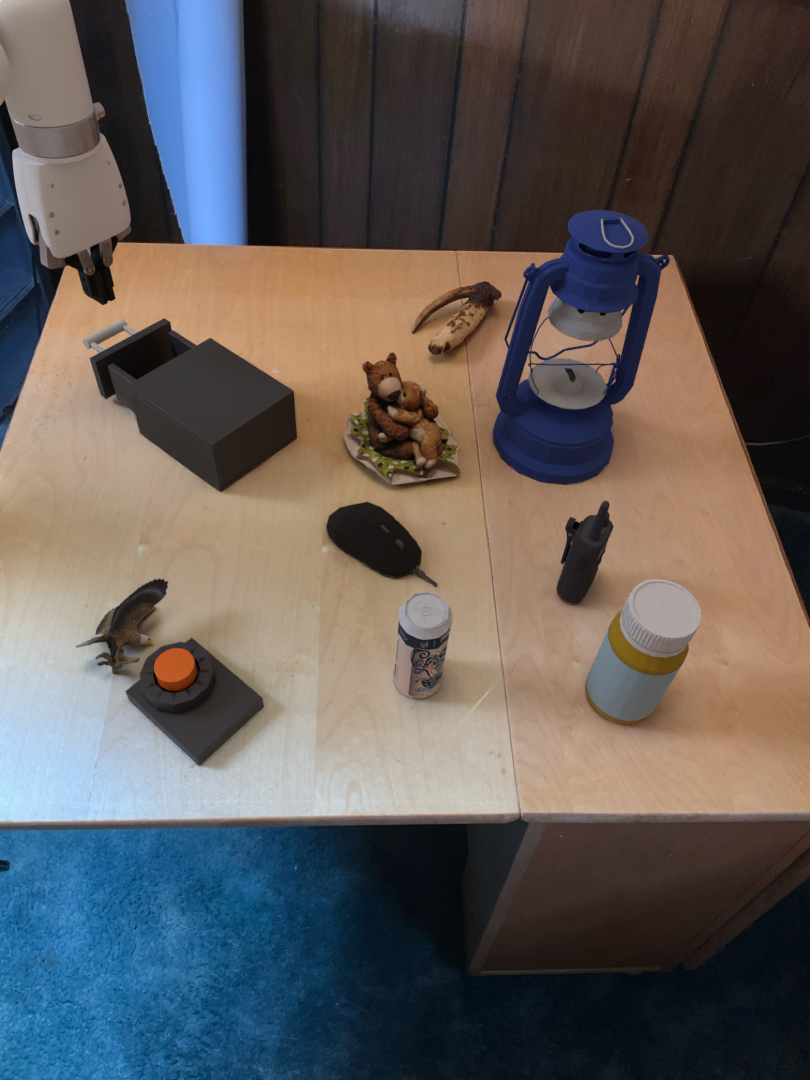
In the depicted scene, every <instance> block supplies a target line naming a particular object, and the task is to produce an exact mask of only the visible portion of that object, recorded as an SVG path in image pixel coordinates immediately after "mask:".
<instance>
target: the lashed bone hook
mask: <svg viewBox="0 0 810 1080" xmlns="http://www.w3.org/2000/svg"><path fill="white" fill-rule="evenodd" d="M501 298H502V291H501V290H500V289H498V288H496V287H495V285H493V284H491V283H490V282H489V281H485V280H483V281H480V282H476V283H474V284H471V285H465V286H460V287H456V288H453V289H451V290H448V291H445V292H444V293H442V294H440V295H439V296H438V297H436V298H434V299H433V300H432V301H430V302H429V303H428V304H427V305H426V306H425V307H424V308H423V309H422V310H421V311H420V313H419V314H418V316H417V317H416V319H415V320H414V323H413V326H412V329H411V333H412V334H414V333H416V332H417V331H418V330H419V329H420V327H421V326H422V325H423V324H424V323H425V322H426V321H427V320H428V318H430V316H432V315H433V314H434V313H436V312H437V311H439V310H441V309H443V308H444V307H446V306H447V305H449V304H452V303H453V302H456V301H460V300H464V299H467V300H466V301H465V302H464V303H463V305H462V306H461V307H460V308H459V309H458V310H457V311H456V312H455V313H453V315H452V316H451V317H450V319H448V321H447V322H446V323H445V324H444V325H443V326H442V328H441V329H440V330H439V331H438V332H436V333H435V334H434V336H433V337H432V338H431V339H430V342H429V344H428V346H427V349H428V351H429V353H430V354H432V355H435V356H439V355H441V354H442V355H443V354H444V353H447V352H449V351H451V350H452V349H453V348H455V347H457V346H458V345H460V344H461V343H462V342H464V340H465V338H467V336H468V335H470V334H471V333H472V332H473V331H474V330H475V329H476V328H477V327H478V326H479V324H480V323H481V322H482V321H483V318H484V317H485V316H486V315H488V311H489V310H490V308H491V307H492V306H493V305H494V303H495V301H499V300H500V299H501Z"/></svg>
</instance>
